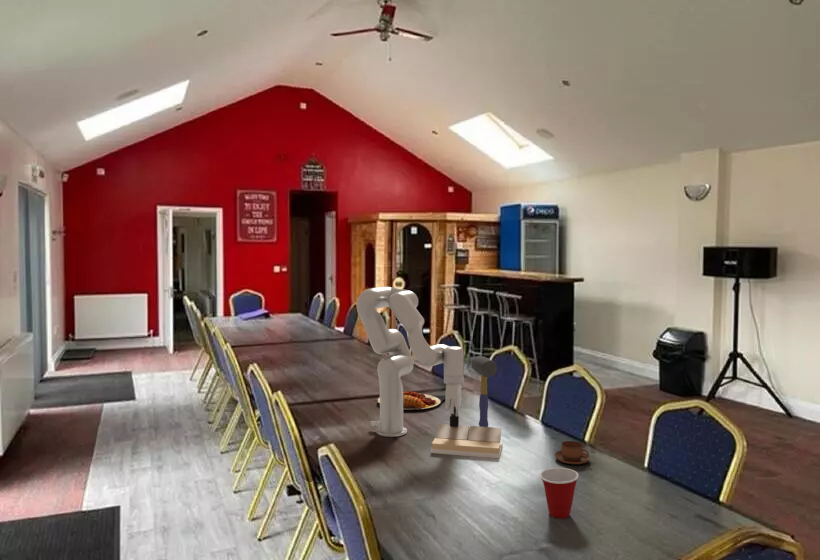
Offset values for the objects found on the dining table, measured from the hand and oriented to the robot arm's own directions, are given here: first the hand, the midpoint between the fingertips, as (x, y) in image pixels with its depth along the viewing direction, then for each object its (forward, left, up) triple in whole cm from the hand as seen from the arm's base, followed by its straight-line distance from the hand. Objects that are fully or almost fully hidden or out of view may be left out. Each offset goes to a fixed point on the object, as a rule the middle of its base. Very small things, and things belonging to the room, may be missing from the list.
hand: (454, 426), depth 239 cm
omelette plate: (-30, +57, -8) cm, 65 cm away
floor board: (+6, -5, -7) cm, 10 cm away
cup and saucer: (+44, -8, -8) cm, 45 cm away
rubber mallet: (+9, +23, -7) cm, 25 cm away
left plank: (0, -1, -3) cm, 3 cm away
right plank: (+12, -1, -3) cm, 12 cm away
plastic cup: (+39, -54, -7) cm, 67 cm away
